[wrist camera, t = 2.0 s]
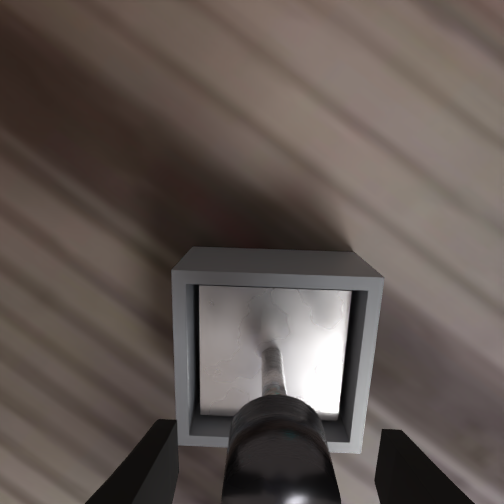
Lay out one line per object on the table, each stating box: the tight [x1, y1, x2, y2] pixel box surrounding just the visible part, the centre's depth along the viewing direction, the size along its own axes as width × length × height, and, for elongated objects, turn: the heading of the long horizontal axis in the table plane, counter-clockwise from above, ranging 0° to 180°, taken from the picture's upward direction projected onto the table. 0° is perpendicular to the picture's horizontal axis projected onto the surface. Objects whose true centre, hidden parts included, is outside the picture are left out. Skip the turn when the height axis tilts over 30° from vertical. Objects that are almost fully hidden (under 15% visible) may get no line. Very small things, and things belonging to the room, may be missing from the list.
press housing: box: [171, 246, 384, 454], centre depth 17 cm, size 9×9×4 cm
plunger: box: [199, 284, 352, 504], centre depth 12 cm, size 7×7×8 cm
